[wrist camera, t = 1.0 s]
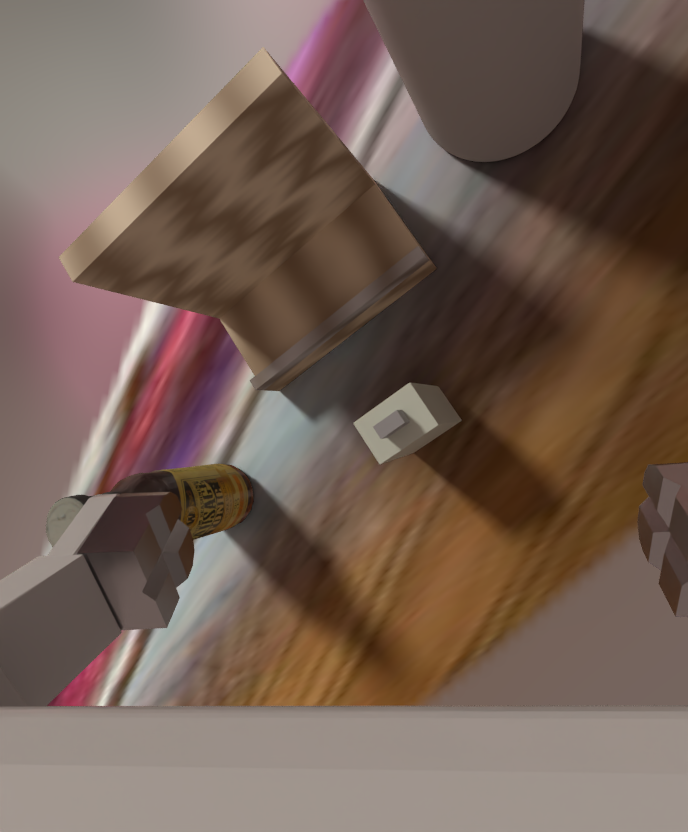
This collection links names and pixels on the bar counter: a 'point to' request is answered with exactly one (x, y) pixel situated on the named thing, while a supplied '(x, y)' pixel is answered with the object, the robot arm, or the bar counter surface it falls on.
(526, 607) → the bar counter surface
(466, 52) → the cylinder vase
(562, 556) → the bar counter surface
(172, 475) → the sauce bottle
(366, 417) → the beige block
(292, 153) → the back board shelf
